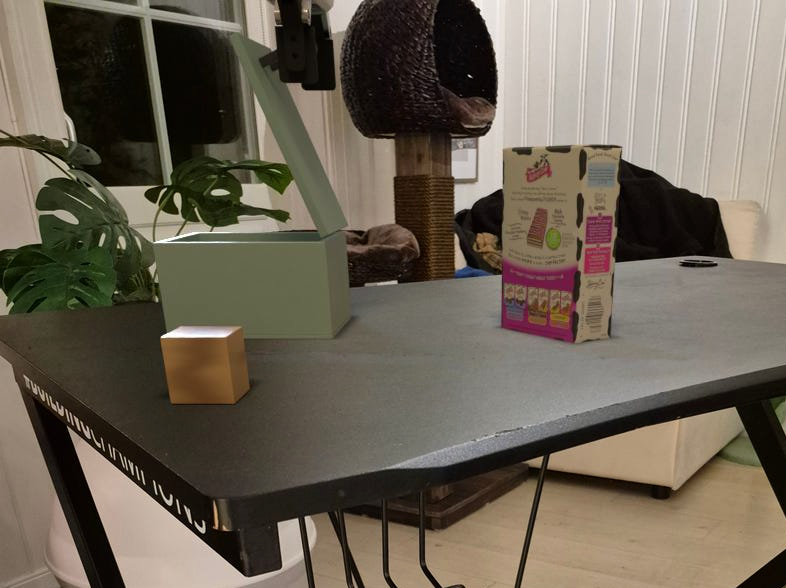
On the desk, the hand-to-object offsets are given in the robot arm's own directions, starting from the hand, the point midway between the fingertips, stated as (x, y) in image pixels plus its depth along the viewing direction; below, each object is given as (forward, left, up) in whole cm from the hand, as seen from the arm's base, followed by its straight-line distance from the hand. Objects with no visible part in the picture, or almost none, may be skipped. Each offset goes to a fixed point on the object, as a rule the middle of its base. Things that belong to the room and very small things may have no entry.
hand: (309, 86), depth 81 cm
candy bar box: (+23, -1, -21) cm, 31 cm away
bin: (-6, -1, -21) cm, 22 cm away
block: (-1, -28, -21) cm, 35 cm away
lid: (-2, 0, -4) cm, 5 cm away
